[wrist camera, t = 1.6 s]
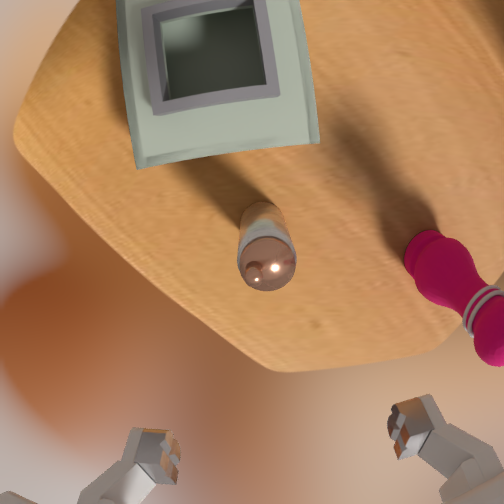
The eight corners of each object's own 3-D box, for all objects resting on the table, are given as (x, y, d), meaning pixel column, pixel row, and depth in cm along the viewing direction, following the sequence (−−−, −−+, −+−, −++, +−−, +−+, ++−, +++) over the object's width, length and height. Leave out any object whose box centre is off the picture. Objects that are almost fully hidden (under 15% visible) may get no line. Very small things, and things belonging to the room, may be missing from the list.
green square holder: (282, -10, 21) (293, -52, 13) (304, 138, 28) (326, 144, 20) (142, 14, 22) (105, -16, 14) (161, 158, 28) (127, 174, 20)
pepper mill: (389, 253, 33) (489, 376, 14) (433, 213, 31) (557, 303, 12) (416, 291, 35) (500, 407, 16) (456, 254, 33) (557, 350, 14)
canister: (282, 199, 30) (299, 243, 20) (286, 240, 32) (303, 301, 21) (237, 204, 30) (230, 251, 20) (244, 245, 32) (240, 308, 22)
